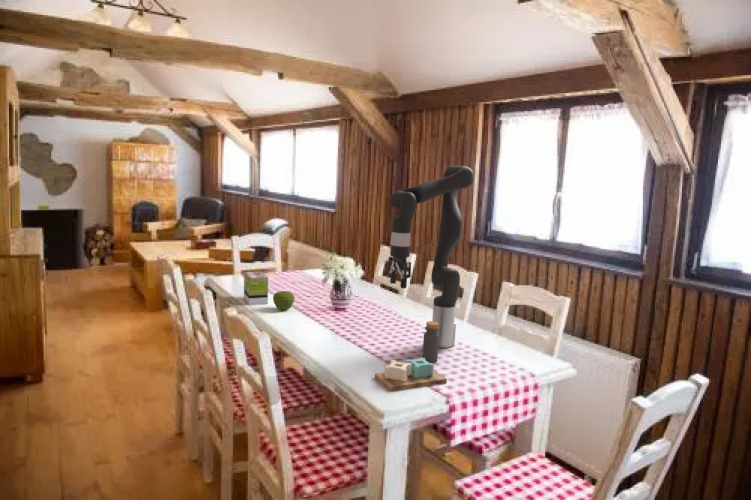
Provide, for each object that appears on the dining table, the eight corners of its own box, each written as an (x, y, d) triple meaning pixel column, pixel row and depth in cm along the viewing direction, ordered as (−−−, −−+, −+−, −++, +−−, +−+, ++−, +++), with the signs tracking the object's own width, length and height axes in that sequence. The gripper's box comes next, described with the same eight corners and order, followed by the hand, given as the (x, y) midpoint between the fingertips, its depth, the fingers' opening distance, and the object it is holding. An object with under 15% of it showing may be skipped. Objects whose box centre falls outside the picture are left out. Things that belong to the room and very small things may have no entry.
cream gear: (390, 370, 187) (391, 359, 186) (411, 374, 184) (412, 363, 184) (383, 378, 179) (384, 366, 179) (405, 382, 177) (406, 370, 176)
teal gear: (423, 367, 191) (423, 357, 190) (434, 375, 184) (435, 364, 183) (404, 370, 187) (405, 359, 187) (415, 378, 180) (416, 367, 180)
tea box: (243, 298, 283) (243, 271, 281) (261, 297, 288) (262, 271, 285) (248, 305, 270) (249, 277, 268) (268, 304, 274) (268, 276, 272)
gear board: (428, 370, 193) (429, 356, 192) (446, 382, 182) (447, 367, 182) (374, 377, 184) (375, 362, 183) (390, 391, 173) (391, 375, 172)
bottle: (436, 358, 207) (438, 321, 205) (438, 363, 201) (441, 325, 199) (421, 357, 207) (423, 320, 204) (423, 362, 201) (425, 324, 199)
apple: (292, 313, 259) (292, 293, 258) (270, 312, 259) (271, 292, 258) (295, 307, 270) (296, 288, 268) (275, 306, 270) (275, 287, 269)
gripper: (418, 246, 196) (415, 289, 198) (400, 241, 208) (397, 281, 211) (400, 247, 193) (398, 290, 195) (383, 241, 205) (381, 282, 208)
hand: (398, 285), depth 203 cm, fingers open, 8 cm apart
